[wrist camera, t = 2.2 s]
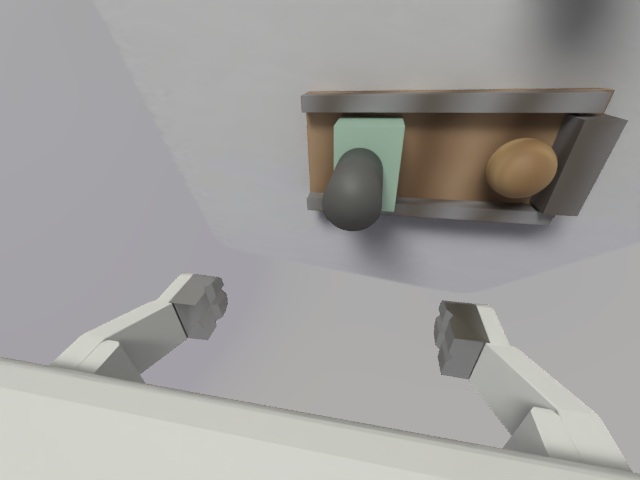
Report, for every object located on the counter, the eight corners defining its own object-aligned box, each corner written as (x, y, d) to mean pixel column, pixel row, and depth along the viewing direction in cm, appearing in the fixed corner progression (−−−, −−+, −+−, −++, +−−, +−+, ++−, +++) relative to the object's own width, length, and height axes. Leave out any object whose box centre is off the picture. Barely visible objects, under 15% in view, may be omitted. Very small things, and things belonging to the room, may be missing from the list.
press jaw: (402, 116, 23) (411, 151, 15) (393, 192, 26) (396, 254, 18) (340, 116, 24) (316, 148, 16) (340, 189, 27) (320, 247, 19)
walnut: (550, 132, 22) (583, 147, 18) (528, 186, 24) (554, 209, 20) (488, 131, 22) (507, 146, 19) (473, 183, 25) (487, 206, 21)
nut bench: (601, 88, 21) (641, 94, 17) (545, 210, 26) (568, 232, 23) (309, 91, 25) (297, 97, 21) (314, 197, 30) (305, 214, 27)
